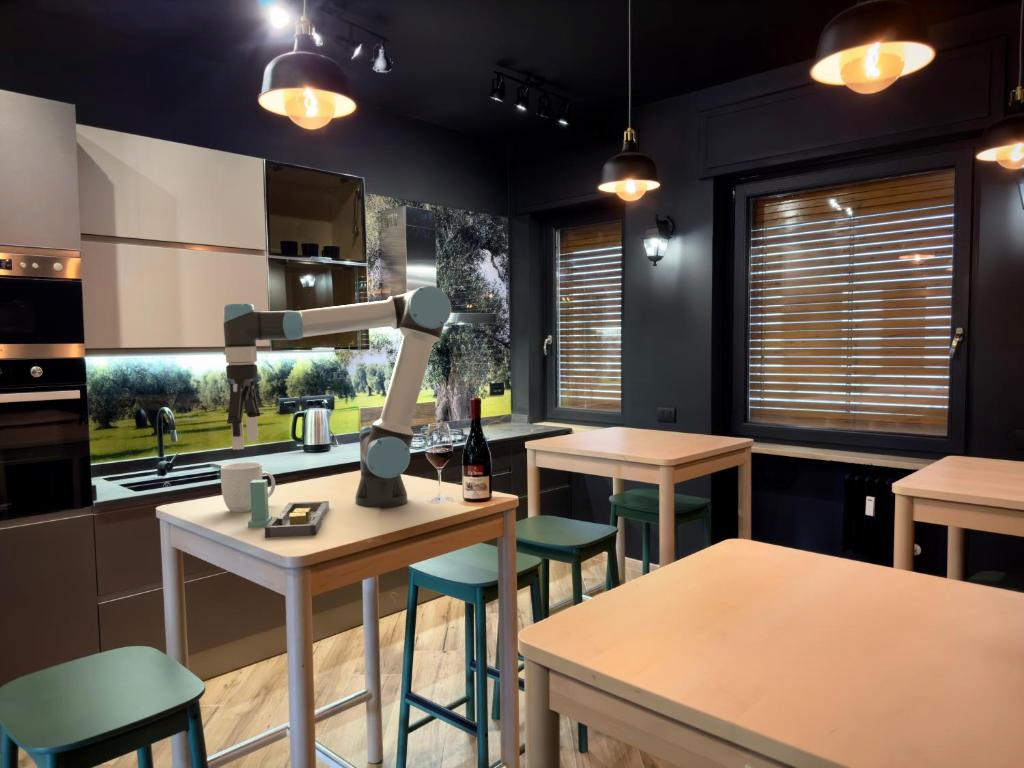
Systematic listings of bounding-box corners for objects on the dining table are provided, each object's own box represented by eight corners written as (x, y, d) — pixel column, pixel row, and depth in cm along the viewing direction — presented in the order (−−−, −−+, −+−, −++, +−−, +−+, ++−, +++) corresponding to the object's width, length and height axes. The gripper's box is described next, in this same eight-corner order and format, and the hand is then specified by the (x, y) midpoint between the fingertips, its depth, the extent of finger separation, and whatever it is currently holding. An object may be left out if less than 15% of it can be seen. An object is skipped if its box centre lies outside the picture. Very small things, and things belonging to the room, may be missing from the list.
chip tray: (321, 526, 179) (321, 514, 179) (315, 537, 169) (315, 525, 169) (273, 528, 178) (273, 517, 178) (265, 539, 168) (264, 527, 168)
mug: (268, 502, 207) (267, 459, 207) (282, 508, 199) (280, 463, 198) (217, 510, 198) (215, 465, 197) (229, 517, 190) (227, 470, 189)
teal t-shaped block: (272, 523, 183) (270, 478, 182) (268, 528, 178) (266, 482, 177) (252, 524, 182) (251, 479, 182) (248, 529, 177) (246, 483, 177)
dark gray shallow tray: (328, 509, 197) (328, 501, 197) (319, 526, 179) (319, 516, 179) (289, 511, 196) (288, 502, 195) (275, 528, 178) (275, 518, 178)
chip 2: (311, 516, 187) (310, 507, 187) (308, 520, 183) (308, 511, 183) (295, 517, 187) (295, 508, 186) (293, 521, 183) (292, 512, 182)
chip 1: (306, 521, 183) (305, 511, 183) (305, 524, 179) (305, 515, 179) (290, 522, 182) (290, 513, 182) (289, 526, 178) (289, 516, 178)
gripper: (240, 362, 190) (244, 438, 192) (210, 366, 166) (215, 453, 167) (268, 361, 191) (272, 437, 193) (243, 365, 166) (247, 452, 168)
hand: (245, 445), depth 180 cm, fingers open, 13 cm apart
